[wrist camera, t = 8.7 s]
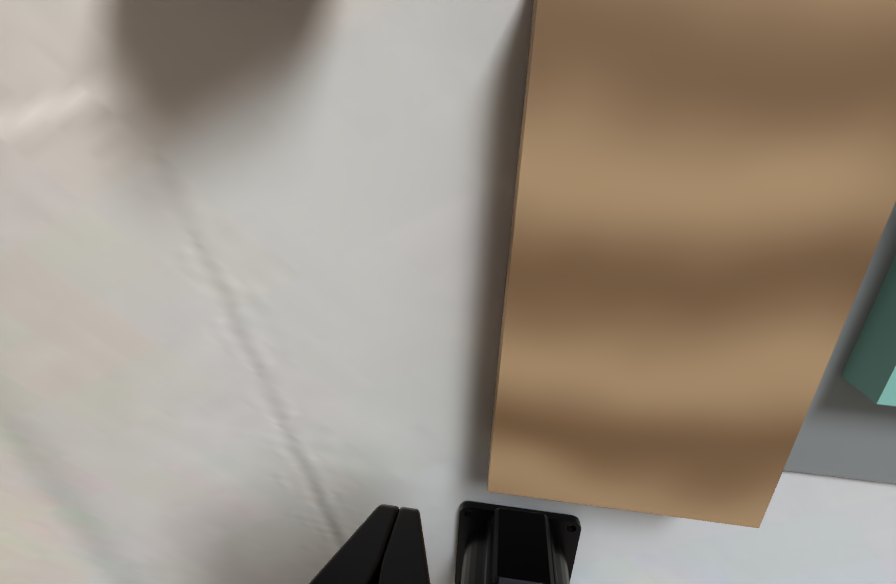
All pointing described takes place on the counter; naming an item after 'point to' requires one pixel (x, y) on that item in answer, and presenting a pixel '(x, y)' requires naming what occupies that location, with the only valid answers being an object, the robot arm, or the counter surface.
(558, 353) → the deck
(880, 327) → the teal rectangular block
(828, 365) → the mat
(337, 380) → the counter surface
